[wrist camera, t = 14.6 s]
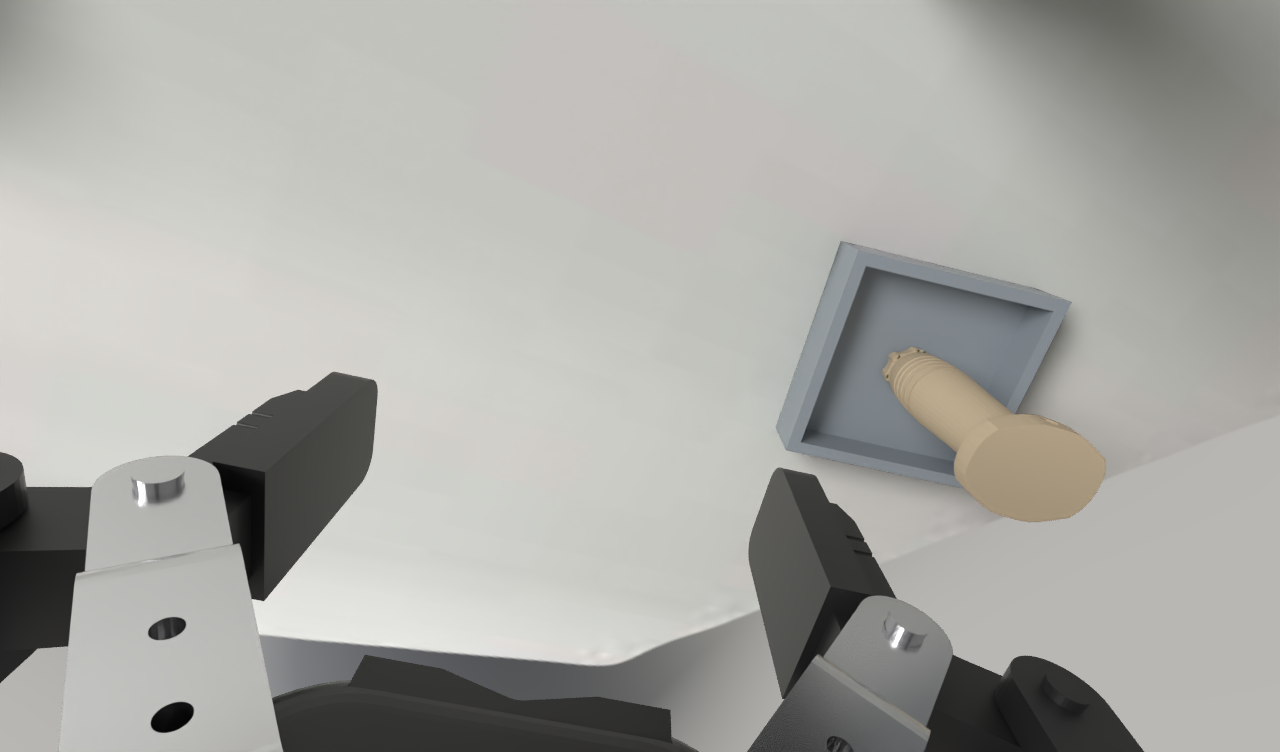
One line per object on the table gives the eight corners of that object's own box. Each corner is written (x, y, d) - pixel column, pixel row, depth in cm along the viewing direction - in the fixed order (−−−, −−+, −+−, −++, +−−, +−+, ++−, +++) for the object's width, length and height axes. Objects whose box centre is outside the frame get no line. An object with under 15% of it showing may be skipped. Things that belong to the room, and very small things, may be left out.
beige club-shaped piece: (875, 321, 41) (996, 410, 27) (961, 347, 42) (1125, 447, 28) (847, 386, 43) (947, 501, 29) (930, 410, 43) (1070, 534, 29)
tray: (841, 241, 40) (858, 250, 37) (1037, 289, 41) (1071, 302, 38) (775, 427, 45) (785, 450, 42) (952, 466, 46) (976, 491, 43)
